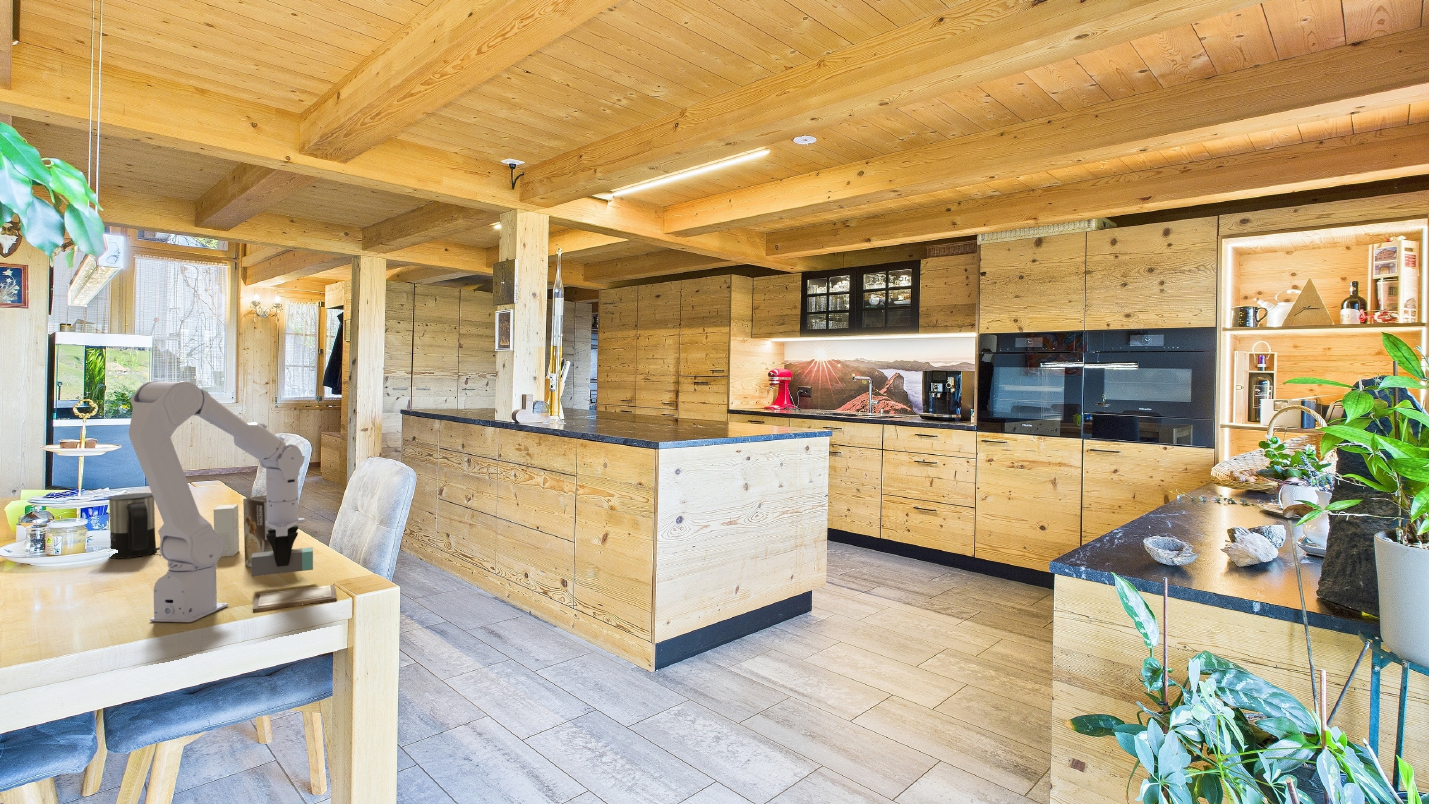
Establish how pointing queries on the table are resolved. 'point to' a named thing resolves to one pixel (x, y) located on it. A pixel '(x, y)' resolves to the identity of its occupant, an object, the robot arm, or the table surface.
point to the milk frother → (132, 525)
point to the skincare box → (227, 527)
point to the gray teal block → (267, 566)
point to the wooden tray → (294, 597)
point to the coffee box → (255, 527)
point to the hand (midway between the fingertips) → (283, 563)
